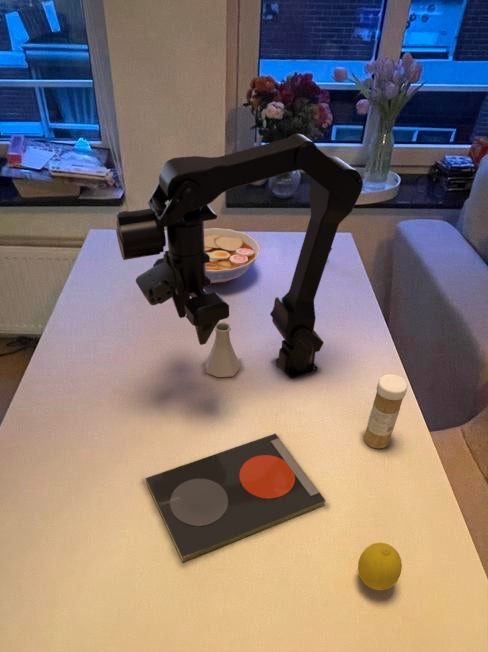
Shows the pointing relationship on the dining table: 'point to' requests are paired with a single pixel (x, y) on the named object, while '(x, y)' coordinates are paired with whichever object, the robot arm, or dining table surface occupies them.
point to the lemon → (380, 566)
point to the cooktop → (232, 495)
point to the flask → (222, 354)
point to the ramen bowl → (228, 253)
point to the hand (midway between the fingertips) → (192, 330)
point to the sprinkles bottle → (385, 410)
